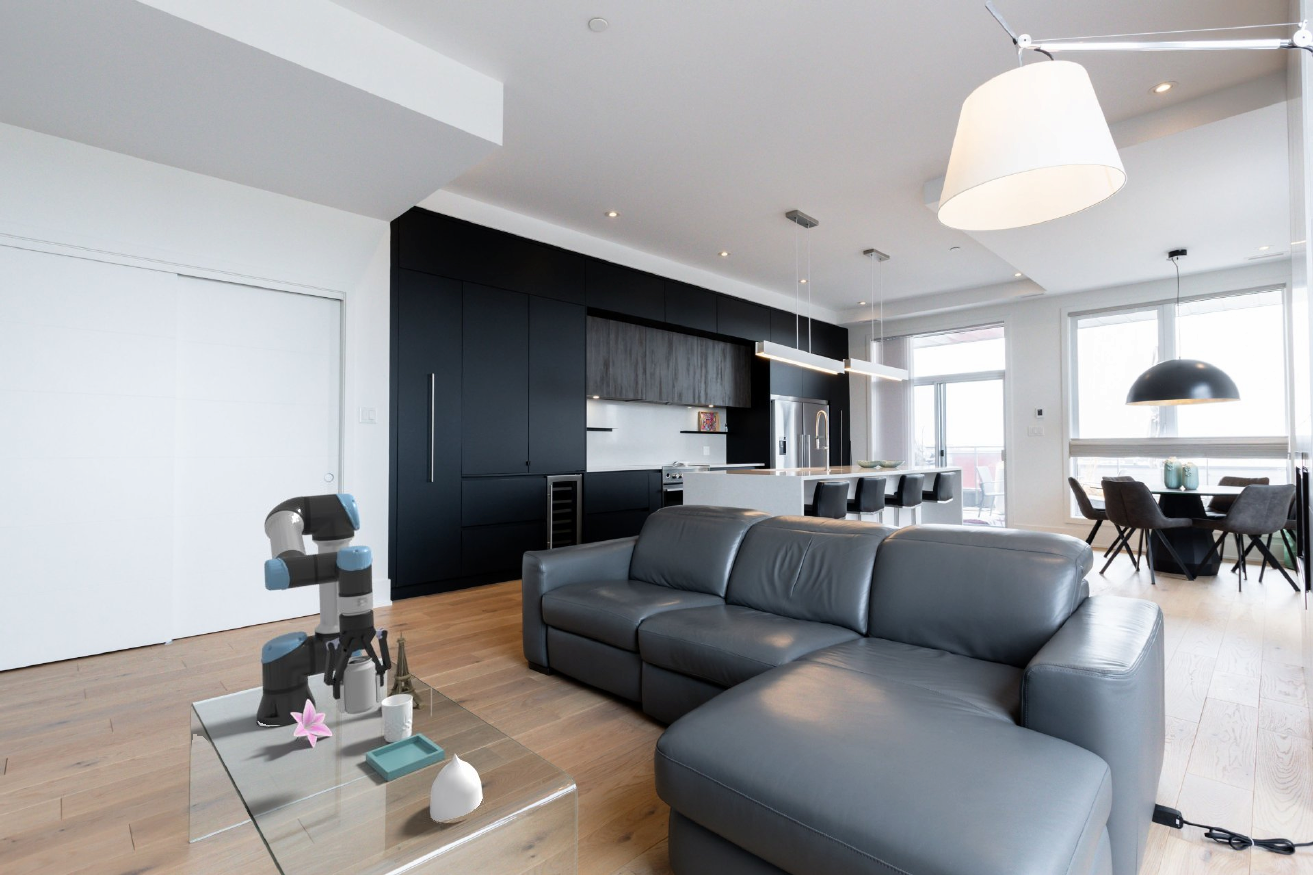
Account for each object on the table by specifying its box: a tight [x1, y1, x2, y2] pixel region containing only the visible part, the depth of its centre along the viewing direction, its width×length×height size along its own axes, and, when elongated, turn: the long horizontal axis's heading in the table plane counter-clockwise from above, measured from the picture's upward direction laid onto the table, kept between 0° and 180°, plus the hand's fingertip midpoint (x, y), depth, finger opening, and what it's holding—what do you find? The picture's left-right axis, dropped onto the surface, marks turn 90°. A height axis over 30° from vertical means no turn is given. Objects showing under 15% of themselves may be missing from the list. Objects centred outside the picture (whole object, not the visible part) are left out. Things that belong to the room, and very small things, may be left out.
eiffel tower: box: [378, 631, 429, 711], centre depth 189 cm, size 11×11×25 cm
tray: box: [365, 732, 445, 782], centre depth 157 cm, size 14×14×2 cm
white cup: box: [380, 694, 414, 743], centre depth 170 cm, size 8×8×10 cm
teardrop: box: [429, 753, 484, 822], centre depth 135 cm, size 11×11×12 cm
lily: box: [291, 699, 333, 748], centre depth 169 cm, size 12×12×10 cm
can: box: [341, 655, 377, 715], centre depth 151 cm, size 8×8×12 cm
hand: (359, 705), depth 151 cm, fingers closed on can, 7 cm apart
